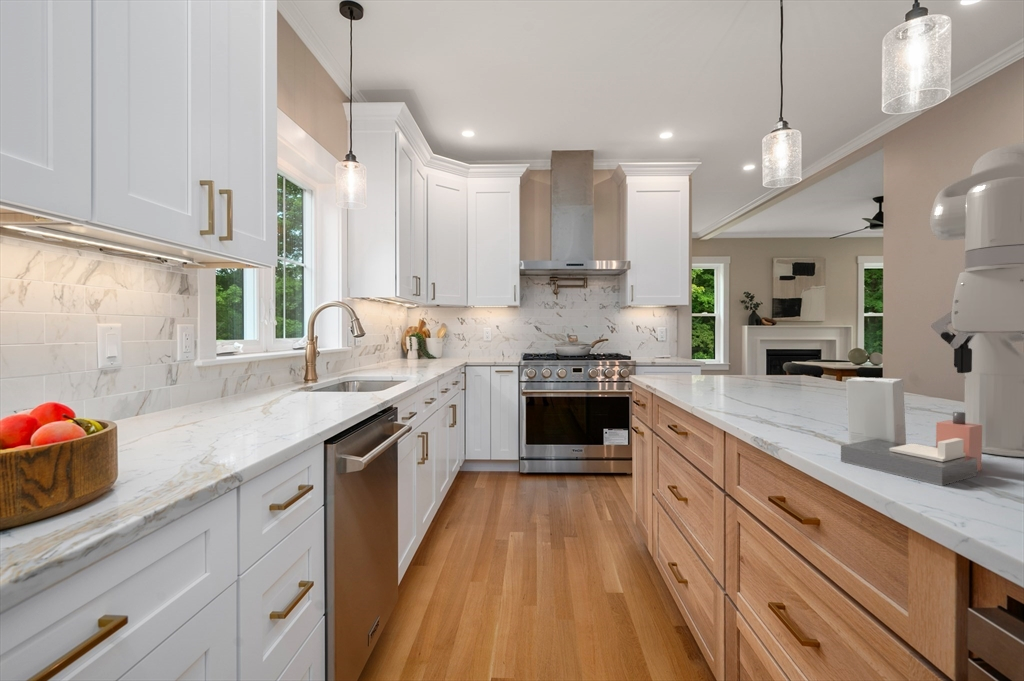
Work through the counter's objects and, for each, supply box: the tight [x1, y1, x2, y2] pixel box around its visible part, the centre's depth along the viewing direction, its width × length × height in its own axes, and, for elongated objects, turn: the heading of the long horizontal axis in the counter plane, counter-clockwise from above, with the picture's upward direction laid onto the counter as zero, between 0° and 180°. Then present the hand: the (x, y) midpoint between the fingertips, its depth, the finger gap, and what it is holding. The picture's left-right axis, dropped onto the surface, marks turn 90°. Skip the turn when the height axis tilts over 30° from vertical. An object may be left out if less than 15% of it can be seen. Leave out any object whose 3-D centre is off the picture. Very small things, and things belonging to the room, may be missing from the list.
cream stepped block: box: [889, 438, 965, 462], centre depth 80 cm, size 8×8×3 cm
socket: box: [840, 439, 978, 487], centre depth 82 cm, size 12×15×3 cm
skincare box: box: [845, 376, 907, 445], centre depth 93 cm, size 8×6×15 cm
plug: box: [935, 411, 983, 471], centre depth 81 cm, size 4×4×10 cm
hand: (996, 373), depth 71 cm, fingers open, 7 cm apart
